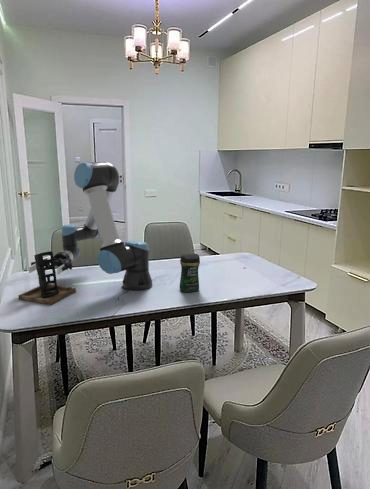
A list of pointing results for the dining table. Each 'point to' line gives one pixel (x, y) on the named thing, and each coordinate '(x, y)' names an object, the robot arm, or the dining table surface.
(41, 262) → the holder
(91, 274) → the dining table surface
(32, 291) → the tray
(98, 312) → the dining table surface
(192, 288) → the coffee jar
